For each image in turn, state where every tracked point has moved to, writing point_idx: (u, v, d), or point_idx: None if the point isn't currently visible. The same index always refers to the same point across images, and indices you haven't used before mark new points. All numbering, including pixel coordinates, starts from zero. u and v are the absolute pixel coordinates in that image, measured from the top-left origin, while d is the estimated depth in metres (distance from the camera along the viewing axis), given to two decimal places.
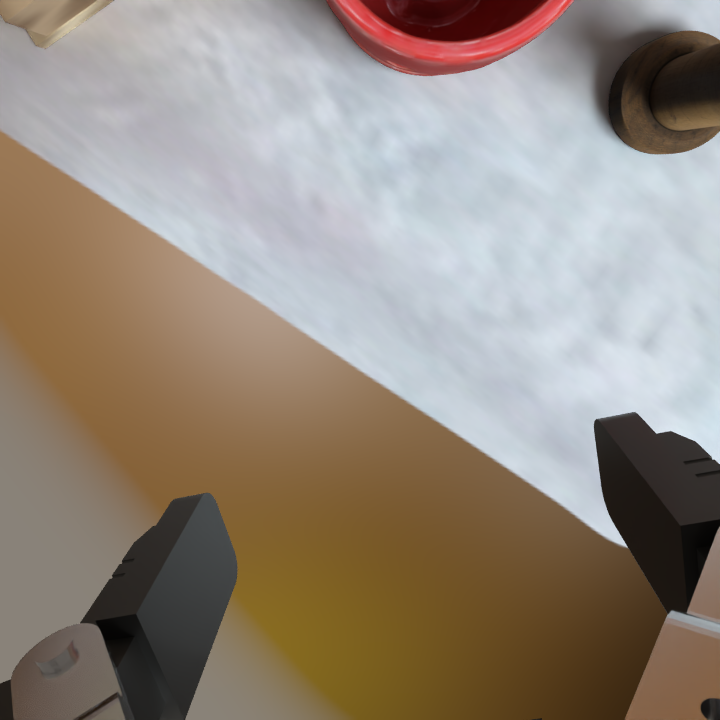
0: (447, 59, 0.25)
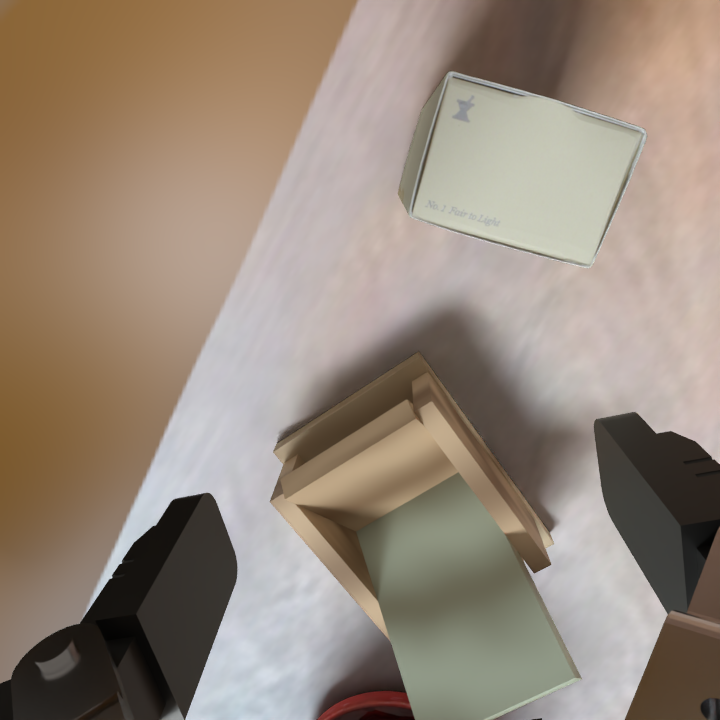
0: None
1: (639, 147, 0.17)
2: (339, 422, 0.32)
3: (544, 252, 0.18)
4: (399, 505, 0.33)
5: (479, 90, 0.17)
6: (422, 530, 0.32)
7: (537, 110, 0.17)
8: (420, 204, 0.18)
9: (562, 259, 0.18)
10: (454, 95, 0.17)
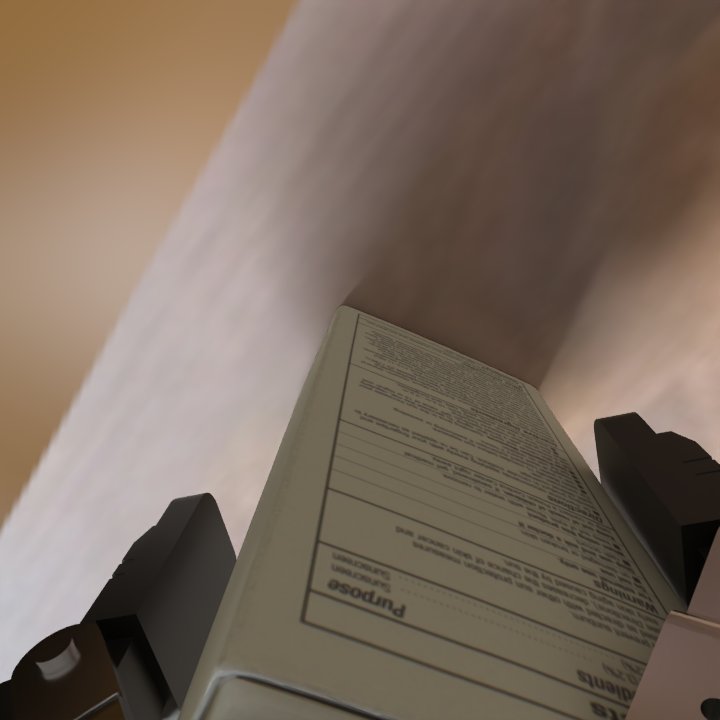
0: None
1: None
2: None
3: None
4: None
5: None
6: None
7: None
8: None
9: None
10: None
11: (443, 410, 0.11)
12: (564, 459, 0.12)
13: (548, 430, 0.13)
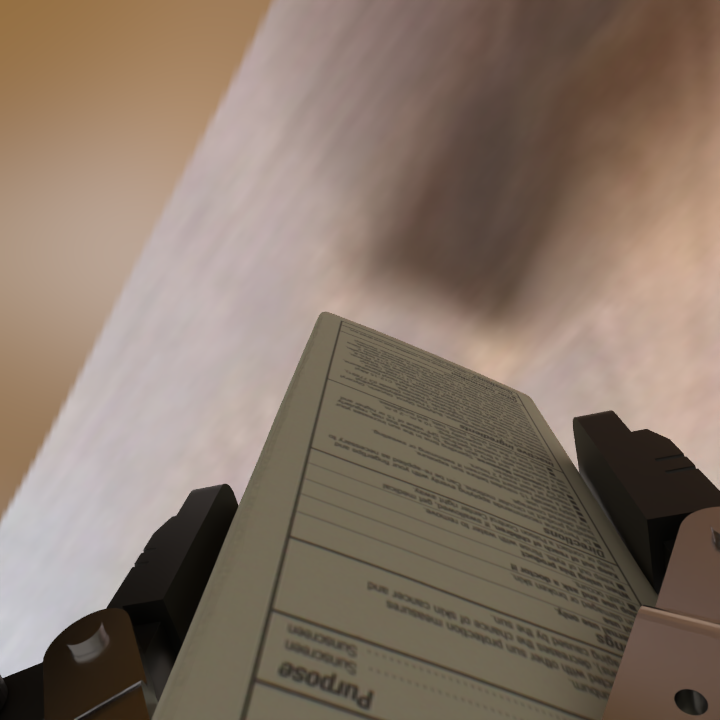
0: None
1: None
2: None
3: None
4: None
5: None
6: None
7: None
8: None
9: None
10: None
11: (429, 430, 0.10)
12: (561, 481, 0.11)
13: (544, 446, 0.12)
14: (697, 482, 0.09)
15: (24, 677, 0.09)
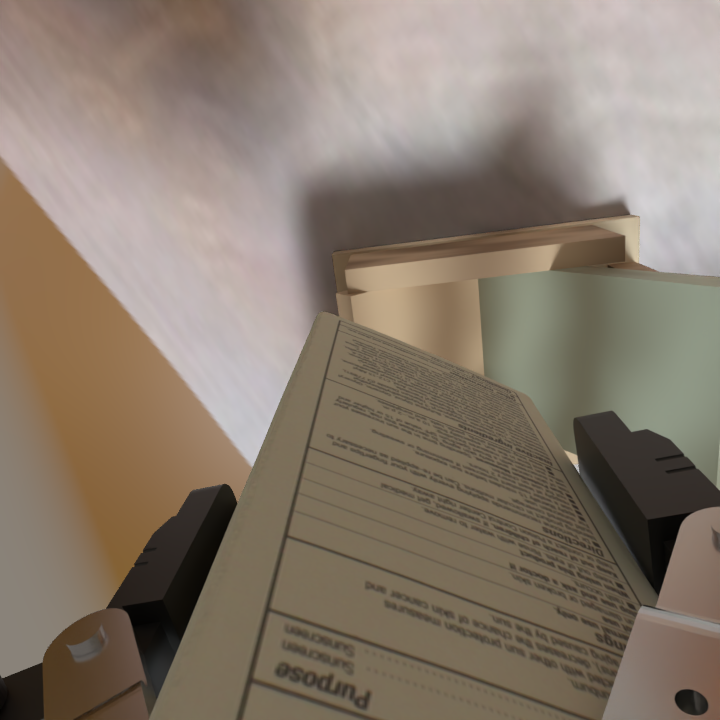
0: None
1: None
2: None
3: None
4: (482, 360, 0.28)
5: None
6: (511, 353, 0.26)
7: None
8: None
9: None
10: None
11: (428, 430, 0.10)
12: (560, 480, 0.11)
13: (542, 446, 0.12)
14: (697, 482, 0.09)
15: (24, 677, 0.09)
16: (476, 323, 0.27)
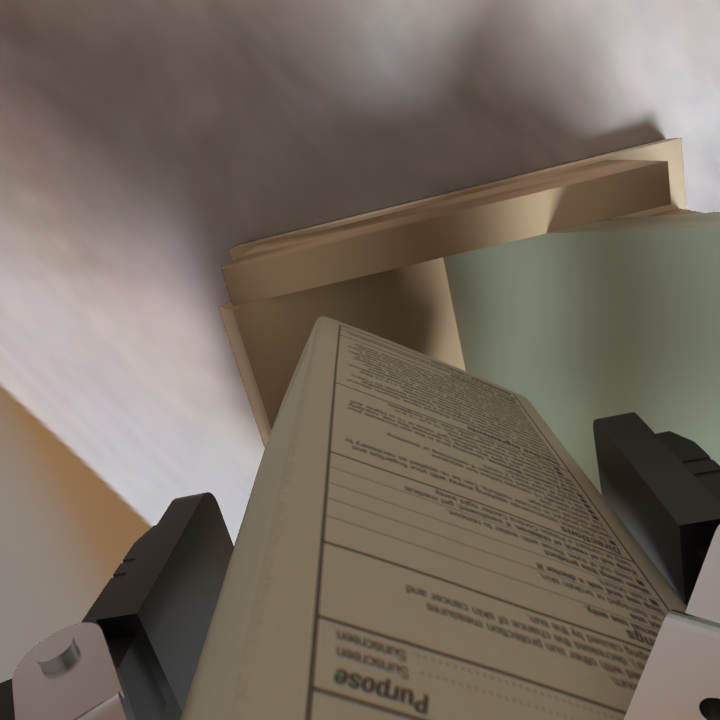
0: None
1: None
2: None
3: None
4: None
5: None
6: (505, 368, 0.17)
7: None
8: None
9: None
10: None
11: (439, 432, 0.10)
12: (569, 480, 0.11)
13: (547, 447, 0.12)
14: None
15: None
16: (449, 327, 0.18)
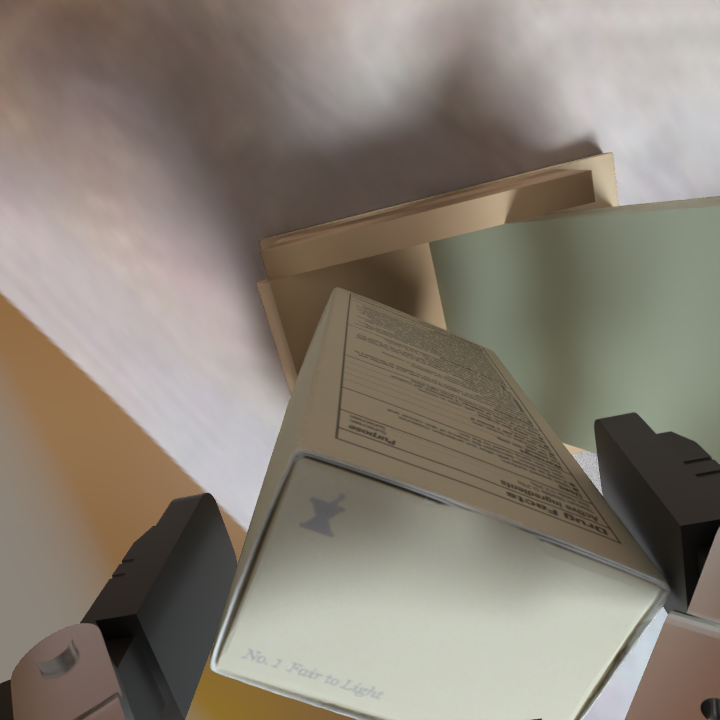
0: None
1: (653, 606, 0.09)
2: None
3: None
4: None
5: (356, 486, 0.08)
6: (478, 332, 0.22)
7: (468, 530, 0.08)
8: (233, 653, 0.09)
9: None
10: (306, 490, 0.08)
11: (419, 357, 0.15)
12: (510, 393, 0.15)
13: (500, 376, 0.17)
14: None
15: None
16: (435, 301, 0.23)
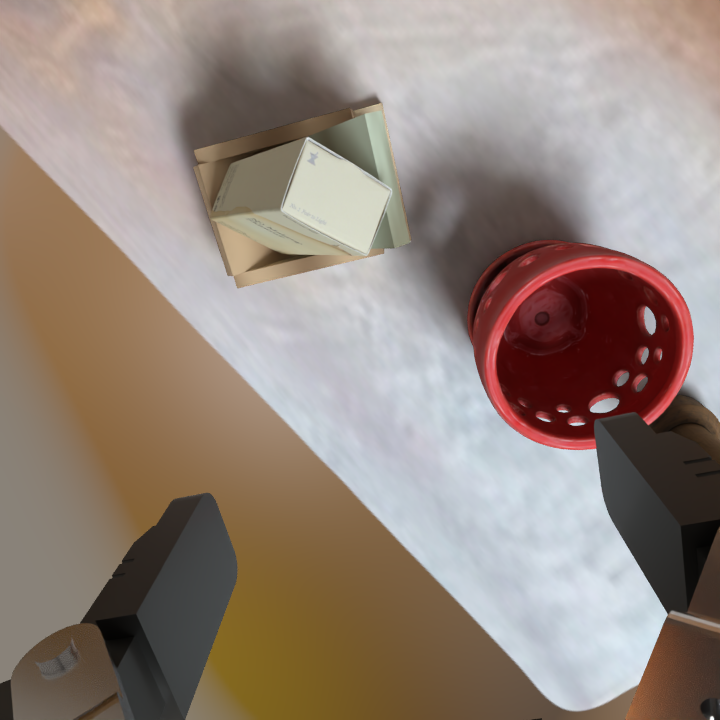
0: (549, 445, 0.38)
1: (389, 197, 0.34)
2: None
3: (346, 244, 0.33)
4: None
5: (320, 150, 0.31)
6: None
7: (346, 167, 0.32)
8: (287, 204, 0.31)
9: (354, 249, 0.33)
10: (309, 149, 0.31)
11: None
12: None
13: None
14: None
15: None
16: None
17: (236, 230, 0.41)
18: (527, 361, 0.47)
